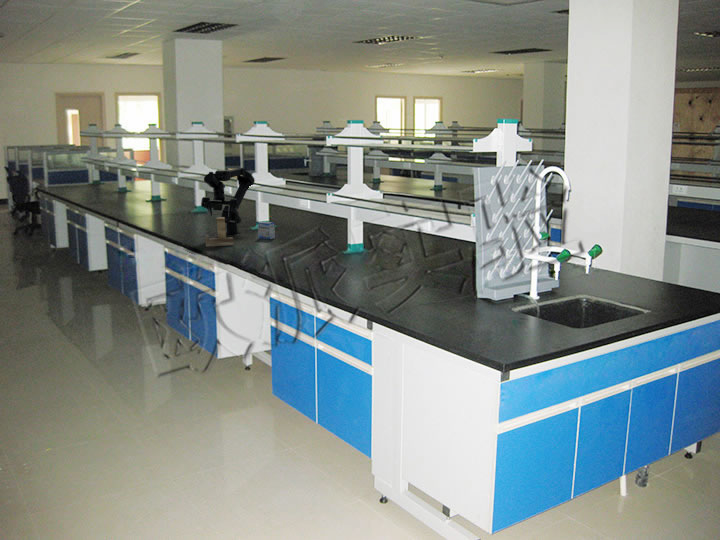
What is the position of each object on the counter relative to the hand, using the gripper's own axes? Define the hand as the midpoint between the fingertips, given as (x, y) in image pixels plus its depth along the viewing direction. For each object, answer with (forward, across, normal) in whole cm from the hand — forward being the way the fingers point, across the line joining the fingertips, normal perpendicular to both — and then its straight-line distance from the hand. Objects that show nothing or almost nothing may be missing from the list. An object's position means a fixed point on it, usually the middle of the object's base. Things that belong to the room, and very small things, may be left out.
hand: (220, 216), depth 366 cm
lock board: (+15, +1, -3) cm, 15 cm away
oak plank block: (+14, 0, -1) cm, 15 cm away
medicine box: (+11, -25, -4) cm, 27 cm away
